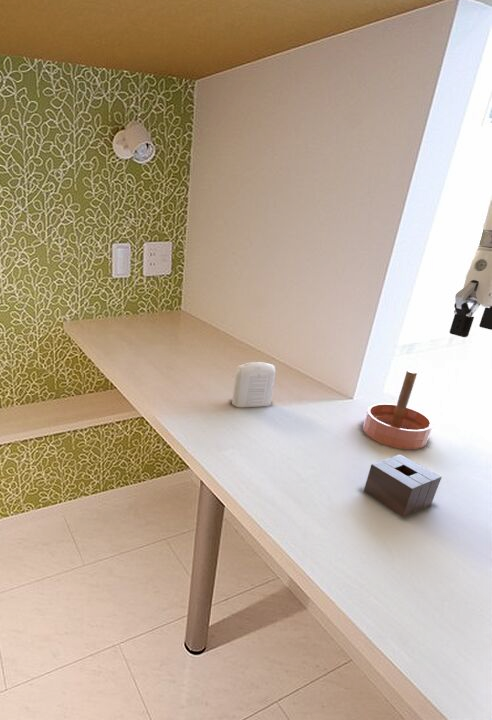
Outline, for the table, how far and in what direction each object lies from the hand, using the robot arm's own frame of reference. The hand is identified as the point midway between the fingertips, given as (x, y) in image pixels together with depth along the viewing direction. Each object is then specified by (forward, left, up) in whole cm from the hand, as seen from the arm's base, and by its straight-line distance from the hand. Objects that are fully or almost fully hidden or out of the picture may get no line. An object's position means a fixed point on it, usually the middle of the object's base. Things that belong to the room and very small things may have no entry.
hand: (473, 331), depth 86 cm
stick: (+7, -4, -26) cm, 28 cm away
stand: (+17, +20, -27) cm, 38 cm away
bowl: (+7, -4, -27) cm, 28 cm away
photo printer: (+38, -17, -27) cm, 50 cm away
